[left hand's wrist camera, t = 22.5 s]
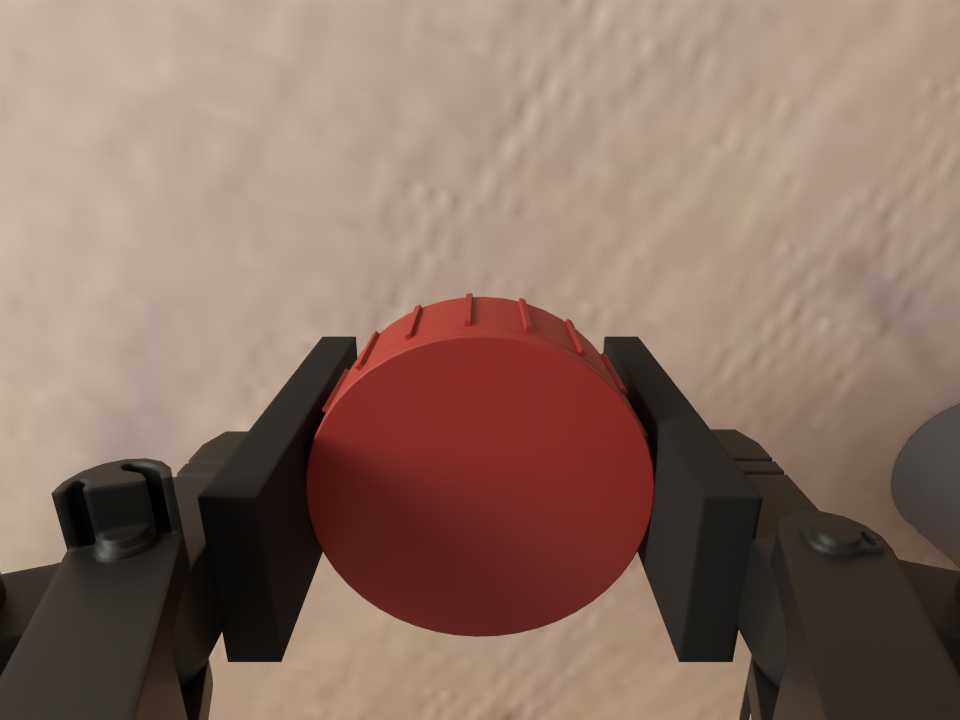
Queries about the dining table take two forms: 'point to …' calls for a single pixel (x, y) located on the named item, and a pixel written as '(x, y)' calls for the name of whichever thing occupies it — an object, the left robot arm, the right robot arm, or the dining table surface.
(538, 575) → the lid
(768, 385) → the dining table surface
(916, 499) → the jar
